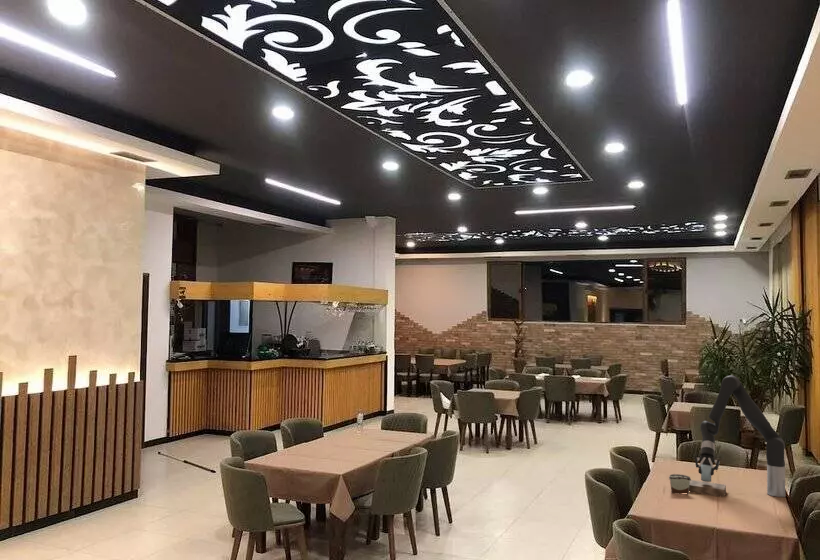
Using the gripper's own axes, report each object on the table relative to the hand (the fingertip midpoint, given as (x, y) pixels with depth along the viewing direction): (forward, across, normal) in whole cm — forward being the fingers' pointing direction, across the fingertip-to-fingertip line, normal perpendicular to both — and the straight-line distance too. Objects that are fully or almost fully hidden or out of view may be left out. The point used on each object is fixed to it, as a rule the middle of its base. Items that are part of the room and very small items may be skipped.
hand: (706, 473), depth 379 cm
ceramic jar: (+2, 0, +4) cm, 5 cm away
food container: (+15, -14, 0) cm, 20 cm away
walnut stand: (+6, 0, +9) cm, 11 cm away
